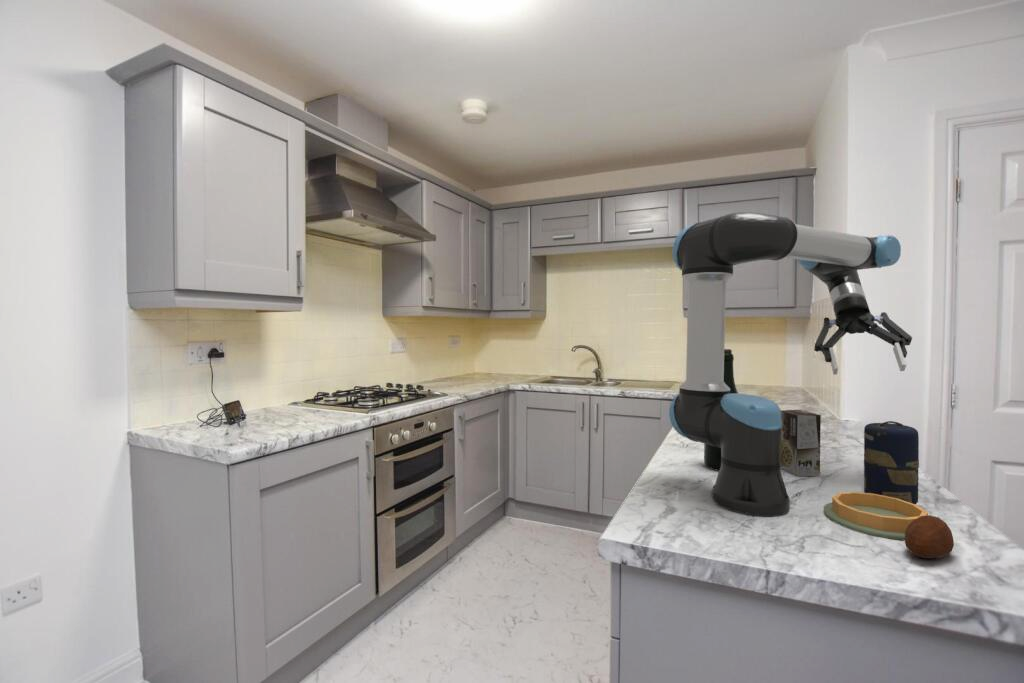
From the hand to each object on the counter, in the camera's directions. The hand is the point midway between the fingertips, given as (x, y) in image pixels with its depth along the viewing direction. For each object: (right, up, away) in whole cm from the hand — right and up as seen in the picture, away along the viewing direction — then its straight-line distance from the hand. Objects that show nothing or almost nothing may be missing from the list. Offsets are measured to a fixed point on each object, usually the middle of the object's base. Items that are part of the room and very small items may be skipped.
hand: (868, 370), depth 116 cm
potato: (-17, -29, -36) cm, 49 cm away
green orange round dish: (-14, -29, -22) cm, 39 cm away
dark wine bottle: (-28, -28, +16) cm, 43 cm away
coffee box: (-10, -28, +12) cm, 32 cm away
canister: (-4, -29, -11) cm, 31 cm away
